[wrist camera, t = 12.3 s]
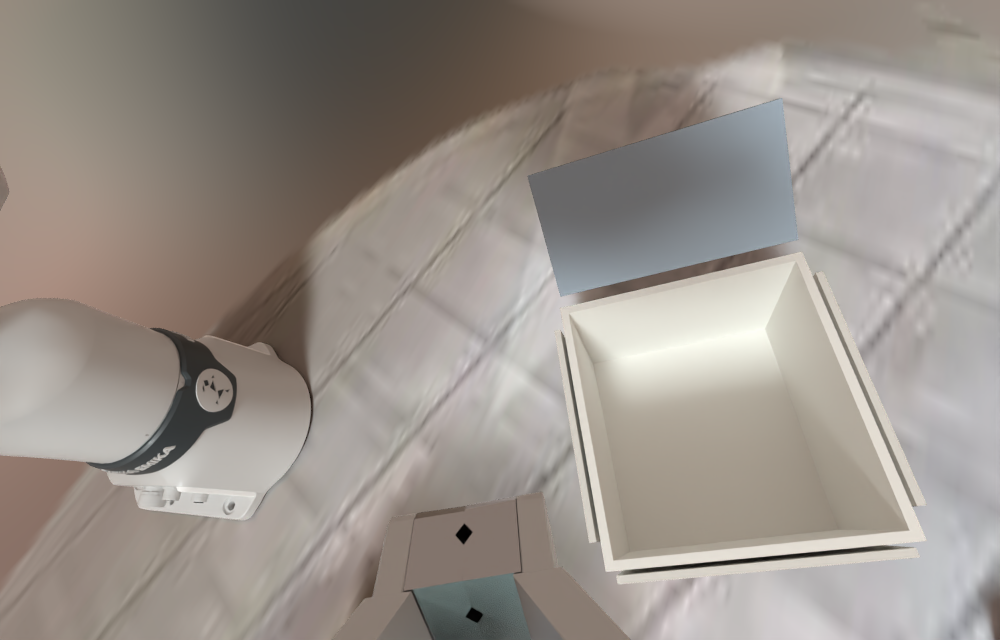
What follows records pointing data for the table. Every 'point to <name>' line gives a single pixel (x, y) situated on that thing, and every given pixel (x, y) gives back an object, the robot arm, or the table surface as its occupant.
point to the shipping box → (731, 429)
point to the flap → (669, 200)
